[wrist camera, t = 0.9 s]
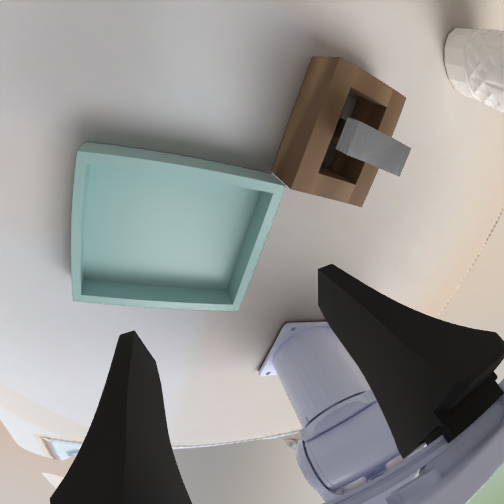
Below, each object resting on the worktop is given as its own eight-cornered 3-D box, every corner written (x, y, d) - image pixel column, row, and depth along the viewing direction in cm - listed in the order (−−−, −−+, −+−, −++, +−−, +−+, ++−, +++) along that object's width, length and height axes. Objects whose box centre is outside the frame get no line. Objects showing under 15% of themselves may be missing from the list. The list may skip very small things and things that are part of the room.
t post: (355, 125, 19) (411, 148, 15) (346, 147, 20) (399, 176, 15) (306, 104, 17) (359, 121, 13) (296, 129, 18) (346, 154, 14)
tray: (272, 174, 19) (285, 186, 17) (230, 292, 24) (238, 310, 22) (85, 141, 14) (76, 151, 13) (76, 281, 19) (72, 300, 17)
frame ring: (376, 90, 18) (406, 97, 15) (338, 189, 21) (361, 207, 19) (312, 56, 15) (339, 57, 13) (271, 171, 19) (290, 189, 17)
